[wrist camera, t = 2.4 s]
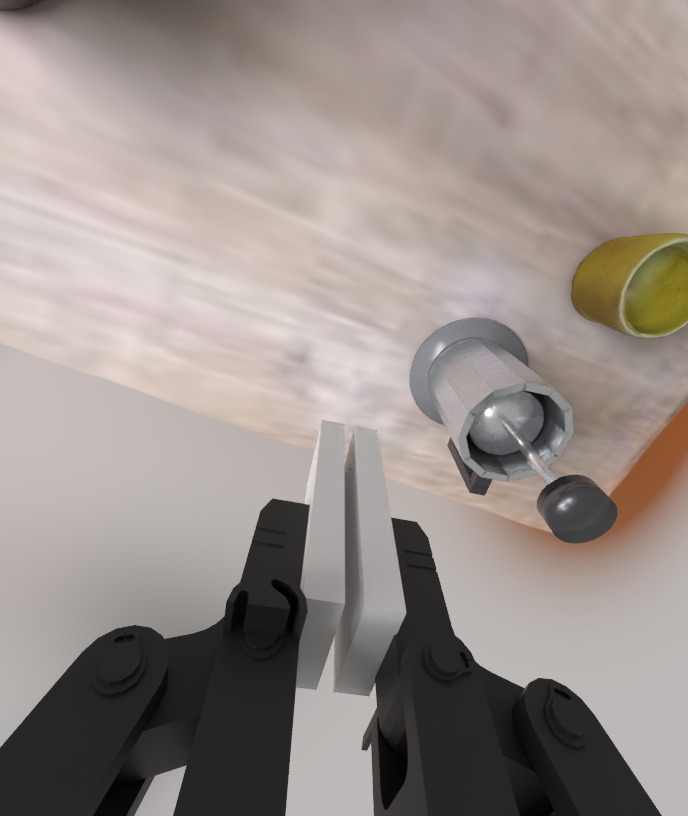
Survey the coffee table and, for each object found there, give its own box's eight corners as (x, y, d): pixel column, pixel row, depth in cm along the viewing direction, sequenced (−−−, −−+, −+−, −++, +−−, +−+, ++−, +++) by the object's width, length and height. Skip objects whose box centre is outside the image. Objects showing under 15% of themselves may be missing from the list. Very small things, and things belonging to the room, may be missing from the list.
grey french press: (443, 329, 43) (484, 373, 31) (522, 347, 44) (594, 396, 32) (410, 424, 49) (434, 495, 36) (481, 439, 50) (528, 512, 37)
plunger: (483, 380, 34) (559, 466, 22) (552, 395, 35) (663, 487, 23) (456, 443, 37) (511, 549, 25) (521, 455, 38) (605, 565, 26)
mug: (541, 320, 41) (632, 320, 32) (576, 227, 40) (681, 198, 31) (614, 353, 46) (714, 361, 36) (648, 270, 44) (760, 256, 35)
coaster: (430, 306, 43) (431, 307, 42) (545, 332, 44) (547, 333, 43) (396, 413, 49) (396, 415, 48) (497, 433, 50) (499, 436, 49)
